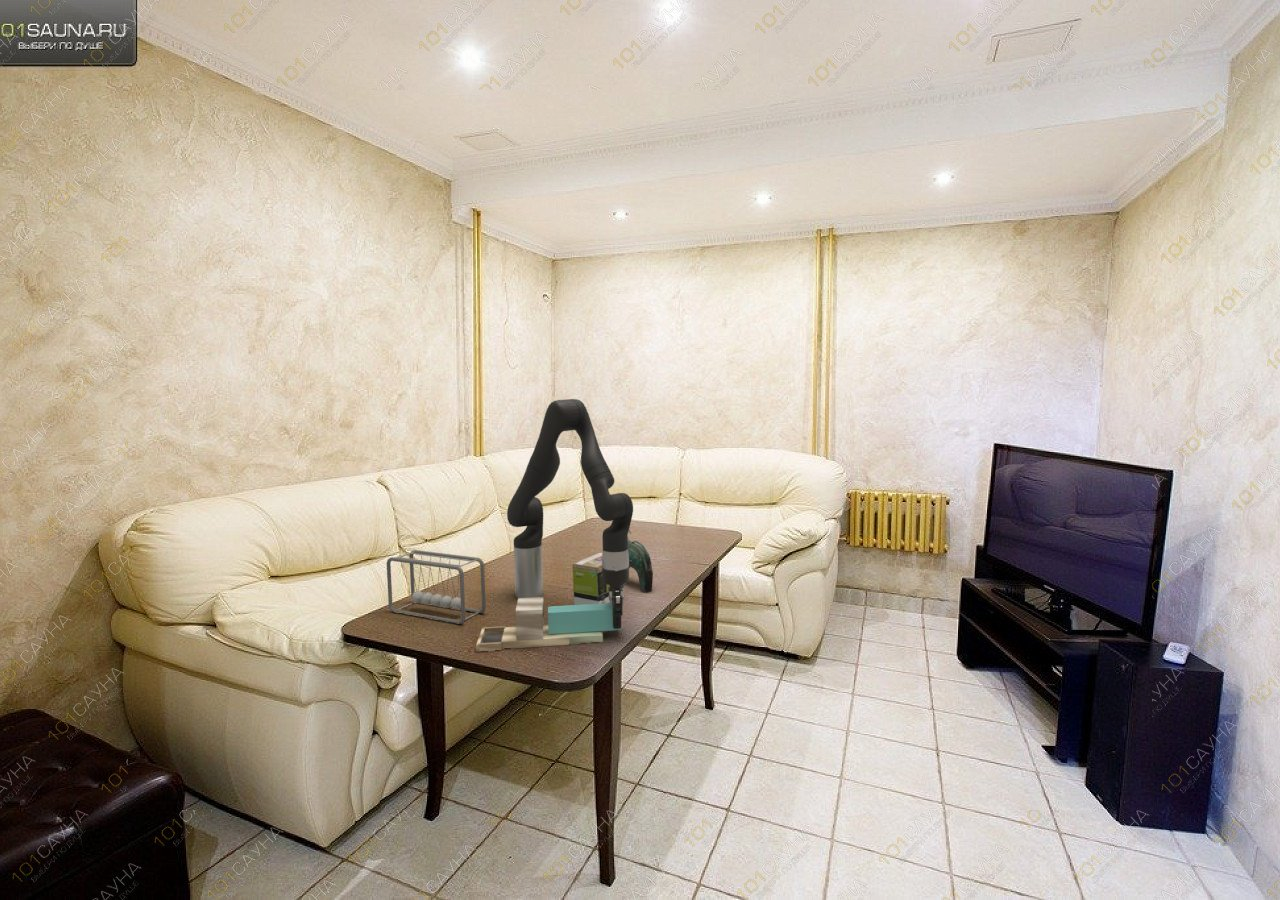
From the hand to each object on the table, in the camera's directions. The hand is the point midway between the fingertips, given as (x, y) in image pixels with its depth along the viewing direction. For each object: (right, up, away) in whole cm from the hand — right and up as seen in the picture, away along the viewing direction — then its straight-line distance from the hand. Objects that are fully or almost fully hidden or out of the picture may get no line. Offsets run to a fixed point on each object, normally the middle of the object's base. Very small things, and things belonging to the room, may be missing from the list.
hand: (616, 624), depth 164 cm
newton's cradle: (-57, -2, +18) cm, 60 cm away
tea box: (-7, -1, +26) cm, 26 cm away
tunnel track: (-21, -3, -2) cm, 21 cm away
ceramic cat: (+4, +1, +43) cm, 43 cm away
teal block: (-9, -1, -1) cm, 9 cm away
